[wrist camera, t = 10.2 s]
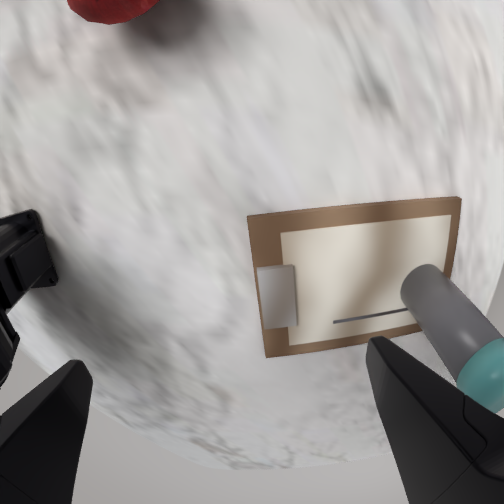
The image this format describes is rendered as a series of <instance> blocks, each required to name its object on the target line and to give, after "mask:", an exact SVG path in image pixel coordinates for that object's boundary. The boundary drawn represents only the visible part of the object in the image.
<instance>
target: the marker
mask: <svg viewBox="0 0 504 504" xmlns="http://www.w3.org/2000/svg"><path fill="white" fill-rule="evenodd" d="M400 296H401V300H402V302H403V303H404V304H405V306H406V307H407V309H408V310H409V312H410V313H411V314H412V316H413V317H414V319H415V320H416V322H417V323H418V325H419V326H420V327H421V329H422V330H423V332H424V333H425V335H426V336H427V338H428V339H429V341H430V342H431V344H432V345H433V347H434V348H435V350H436V352H437V353H438V355H439V356H440V358H441V359H442V361H443V362H444V364H445V366H446V367H447V369H448V370H449V372H450V374H451V375H452V377H453V378H454V380H455V382H456V385H457V388H458V389H459V390H461V391H462V392H463V393H464V394H465V395H468V396H469V397H471V398H472V399H473V400H475V401H476V402H478V403H479V404H481V405H482V406H484V407H485V408H487V409H488V410H490V411H492V412H493V413H497V412H498V411H500V410H501V409H503V408H504V337H503V336H502V335H501V334H500V333H499V332H498V331H497V329H496V328H495V327H494V326H493V325H492V324H491V323H490V321H489V320H488V319H487V318H486V317H485V316H484V315H483V314H482V313H481V311H480V310H479V309H478V308H477V307H476V306H475V305H474V304H473V303H472V302H471V301H470V300H469V299H468V298H467V297H466V295H465V294H464V293H463V292H462V291H461V290H460V289H459V288H458V287H457V286H456V285H455V284H454V283H453V282H452V281H451V280H450V279H449V278H448V277H447V276H446V275H445V274H444V273H443V272H442V271H441V270H440V269H439V268H438V267H436V266H435V265H432V264H424V265H420V266H418V267H416V268H415V269H413V270H412V271H411V272H410V273H409V274H408V275H407V276H406V278H405V279H404V281H403V283H402V286H401V290H400Z"/></svg>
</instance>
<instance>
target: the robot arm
mask: <svg viewBox="0 0 504 504" xmlns="http://www.w3.org/2000/svg"><path fill="white" fill-rule="evenodd" d="M29 214H30V215H31V218H30V215H29ZM51 278H52V279H53V280H54V281H53V280H52V279H51ZM57 283H58V276H57V274H56V271H55V269H54V266H53V263H52V261H51V258H50V255H49V252H48V249H47V247H46V244H45V241H44V238H43V235H42V232H41V228H40V225H39V222H38V219H37V215H36V213H35V211H34V210H32V209H29V210H26V211H22V212H19V213H16V214H12V215H9V216H6V217H2V218H0V387H1V386H2V384H3V383H4V382H5V380H6V379H7V377H8V374H9V372H10V370H11V367H12V361H13V358H14V355H15V352H16V349H17V346H18V344H19V341H20V337H19V335H18V333H17V332H15V330H14V328H13V326H12V324H11V322H10V320H9V318H8V317H7V314H8V312H9V311H10V310H11V309H12V308H13V307H14V306H15V304H16V303H17V302H18V301H19V300H20V299H21V298H22V297H23V296H24V295H25V293H26V292H27V291H28V290H29V289H30V288H39V287H50V286H55V285H56V284H57ZM366 365H367V369H368V373H369V377H370V381H371V385H372V389H373V394H374V398H375V402H376V406H377V409H378V412H379V415H380V418H381V420H382V423H383V426H384V429H385V432H386V434H387V437H388V440H389V443H390V446H391V449H392V452H393V455H394V458H395V460H396V463H397V467H398V470H399V473H400V476H401V479H402V482H403V485H404V488H405V492H406V495H407V498H408V501H409V504H504V418H502V417H500V416H498V415H497V414H495V413H493V412H492V411H490V410H488V409H487V408H485V407H484V406H482V405H481V404H479V403H478V402H476V401H475V400H473V399H472V398H471V397H469V396H468V395H465V394H464V393H463V392H462V391H461V390H459V389H458V388H456V387H455V386H454V385H452V384H451V383H449V382H448V381H447V380H445V379H444V378H442V377H441V376H440V375H438V374H437V373H435V372H434V371H433V370H431V369H430V368H428V367H427V366H425V365H424V364H423V363H421V362H420V361H418V360H417V359H416V358H414V357H413V356H411V355H410V354H409V353H407V352H406V351H404V350H403V349H401V348H400V347H399V346H397V345H396V344H394V343H393V342H392V341H390V340H389V339H387V338H386V337H384V336H382V335H380V336H375V337H371V338H369V340H368V346H367V353H366ZM92 386H93V379H92V376H91V374H90V373H89V371H88V369H87V368H86V366H85V364H84V363H83V361H81V360H70V361H68V362H67V363H66V364H64V365H63V366H62V367H61V368H59V369H58V370H57V371H55V372H54V373H53V374H52V375H50V376H49V377H48V378H47V379H45V380H44V381H43V382H42V383H40V384H39V385H38V386H37V387H35V388H34V389H33V390H31V391H30V392H29V393H28V394H26V395H25V396H24V397H23V398H21V399H20V400H19V401H18V402H17V403H15V404H14V405H13V406H12V407H10V408H9V409H8V410H7V411H6V412H4V413H3V414H2V416H0V504H71V502H72V496H73V489H74V483H75V478H76V472H77V467H78V462H79V457H80V452H81V447H82V443H83V438H84V434H85V429H86V424H87V419H88V413H89V406H90V399H91V392H92ZM0 389H1V388H0Z"/></svg>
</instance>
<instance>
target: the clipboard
mask: <svg viewBox="0 0 504 504" xmlns="http://www.w3.org/2000/svg"><path fill="white" fill-rule="evenodd" d="M461 200H462V199H461V198H459V197H457V196H456V197H440V198H425V199H412V200H399V201H386V202H374V203H363V204H352V205H342V206H331V207H321V208H312V209H302V210H293V211H284V212H275V213H267V214H258V215H250V216H247V222H248V230H249V237H250V245H251V252H252V260H253V267H254V274H255V282H256V289H257V297H258V304H259V312H260V319H261V326H262V334H263V341H264V349H265V356H266V358H271V357H279V356H287V355H295V354H303V353H310V352H316V351H323V350H329V349H335V348H341V347H347V346H353V345H358V344H364V343H368V340H369V338H371V337H375V336H380V335H382V336H384V337H386V338H387V339H389V338H393V337H398V336H402V335H407V334H411V333H415V332H420V331H423V330H422V329H421V327H420V326H419V325H418V323H417V322H416V320H415V319H414V317H413V316H412V314H411V313H410V312H409V310H408V309H407V307H406V306H405V304H404V303H403V302H402V300H401V296H400V290H401V286H402V283H403V281H404V279H405V278H406V276H407V275H408V274H409V273H410V272H411V271H412V270H413V269H415V268H416V267H418V266H420V265H424V264H432V265H435V266H436V267H438V268H439V269H440V270H441V271H442V272H443V273H444V274H445V275H446V276H447V277H448V278H449V279H450V277H451V272H452V267H453V261H454V255H455V249H456V243H457V236H458V228H459V220H460V211H461Z"/></svg>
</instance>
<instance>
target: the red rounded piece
mask: <svg viewBox="0 0 504 504" xmlns="http://www.w3.org/2000/svg"><path fill="white" fill-rule="evenodd" d="M159 1H160V0H67V2H68V5H69V7H70V8H71V10H73V11H74V12H75V13H77V14H78V15H80V16H81V17H82V18H84V19H85V20H87V21H89V22H97V23H103V24H108V25H110V24H116V23H123V22H127V21H129V20H131V19H133V18H135V17H137V16H139V15H142V14H144V13H145V12H147V11H148V10H149V9H150V8H151V7H153V6H154V5H155V4H156V3H157V2H159Z"/></svg>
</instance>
